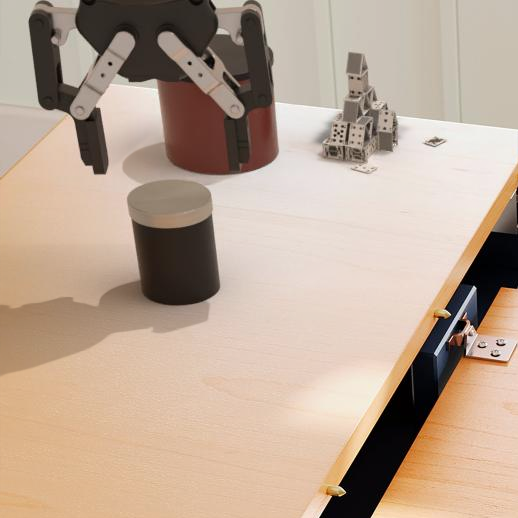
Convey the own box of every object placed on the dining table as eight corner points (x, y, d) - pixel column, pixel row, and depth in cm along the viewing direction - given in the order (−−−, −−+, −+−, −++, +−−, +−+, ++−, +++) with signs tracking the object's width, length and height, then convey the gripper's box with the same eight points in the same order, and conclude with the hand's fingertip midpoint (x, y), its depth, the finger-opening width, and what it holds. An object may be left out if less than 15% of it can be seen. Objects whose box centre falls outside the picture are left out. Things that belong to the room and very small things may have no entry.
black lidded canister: (139, 325, 104) (122, 214, 99) (147, 287, 109) (131, 179, 104) (221, 324, 105) (208, 214, 100) (226, 286, 109) (214, 179, 104)
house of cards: (416, 180, 124) (414, 86, 120) (313, 165, 126) (307, 72, 121) (449, 138, 131) (448, 47, 127) (351, 124, 133) (346, 34, 128)
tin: (158, 176, 123) (145, 76, 118) (169, 129, 130) (157, 33, 125) (279, 175, 124) (270, 76, 119) (283, 129, 131) (275, 34, 126)
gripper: (258, -112, 94) (282, 144, 105) (15, -114, 93) (63, 147, 103) (253, -75, 89) (278, 192, 99) (-6, -77, 87) (47, 195, 97)
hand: (168, 168), depth 101 cm, fingers open, 8 cm apart
